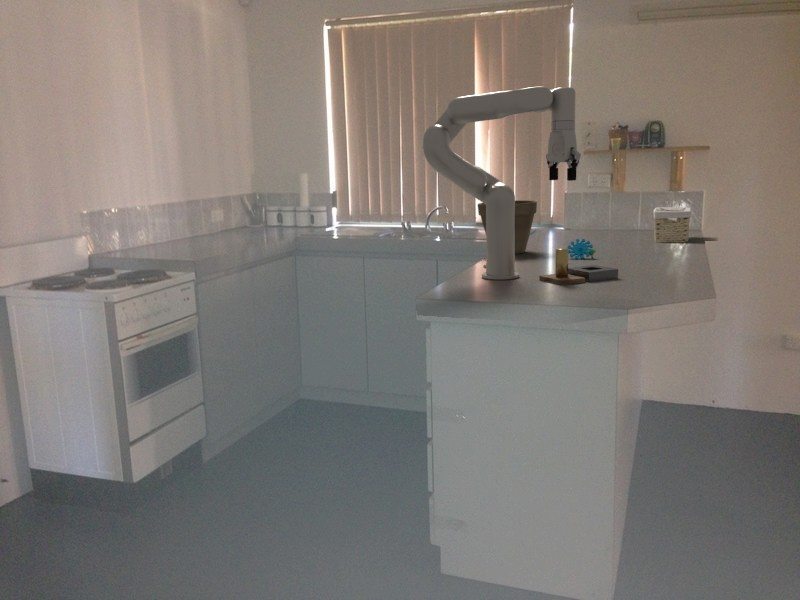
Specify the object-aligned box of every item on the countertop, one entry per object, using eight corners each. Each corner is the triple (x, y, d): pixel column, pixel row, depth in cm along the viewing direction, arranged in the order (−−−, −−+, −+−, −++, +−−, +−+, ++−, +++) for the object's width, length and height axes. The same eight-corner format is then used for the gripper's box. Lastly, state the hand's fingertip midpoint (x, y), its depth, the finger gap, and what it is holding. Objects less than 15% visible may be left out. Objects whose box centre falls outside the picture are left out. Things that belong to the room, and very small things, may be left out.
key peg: (552, 276, 233) (553, 249, 231) (562, 275, 235) (563, 248, 233) (560, 278, 230) (560, 250, 228) (570, 276, 231) (570, 249, 230)
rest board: (539, 280, 236) (539, 275, 236) (561, 277, 240) (561, 273, 239) (562, 285, 225) (562, 280, 225) (584, 282, 229) (585, 277, 229)
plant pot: (473, 256, 301) (472, 204, 297) (483, 248, 325) (483, 200, 321) (533, 256, 294) (533, 203, 290) (539, 249, 317) (539, 199, 313)
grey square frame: (565, 276, 241) (565, 268, 240) (593, 273, 246) (593, 264, 245) (588, 281, 230) (589, 272, 230) (618, 278, 235) (618, 269, 235)
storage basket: (689, 243, 321) (691, 210, 318) (651, 243, 327) (652, 210, 324) (689, 237, 343) (691, 206, 340) (653, 237, 349) (654, 206, 346)
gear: (563, 255, 283) (571, 235, 287) (565, 264, 287) (573, 244, 291) (590, 260, 277) (598, 240, 282) (592, 269, 282) (600, 249, 286)
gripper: (538, 128, 239) (537, 180, 243) (570, 125, 224) (569, 181, 227) (556, 128, 242) (556, 179, 246) (589, 125, 227) (588, 180, 230)
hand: (562, 180), depth 236 cm, fingers open, 9 cm apart
